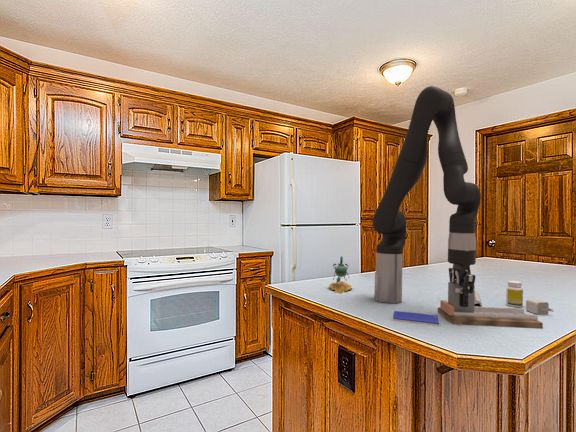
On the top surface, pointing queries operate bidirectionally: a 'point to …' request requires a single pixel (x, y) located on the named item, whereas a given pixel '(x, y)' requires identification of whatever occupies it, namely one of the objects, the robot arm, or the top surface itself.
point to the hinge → (477, 298)
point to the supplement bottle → (514, 294)
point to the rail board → (490, 316)
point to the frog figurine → (340, 272)
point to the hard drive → (416, 318)
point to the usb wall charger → (537, 307)
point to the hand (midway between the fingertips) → (460, 304)
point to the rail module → (455, 298)
